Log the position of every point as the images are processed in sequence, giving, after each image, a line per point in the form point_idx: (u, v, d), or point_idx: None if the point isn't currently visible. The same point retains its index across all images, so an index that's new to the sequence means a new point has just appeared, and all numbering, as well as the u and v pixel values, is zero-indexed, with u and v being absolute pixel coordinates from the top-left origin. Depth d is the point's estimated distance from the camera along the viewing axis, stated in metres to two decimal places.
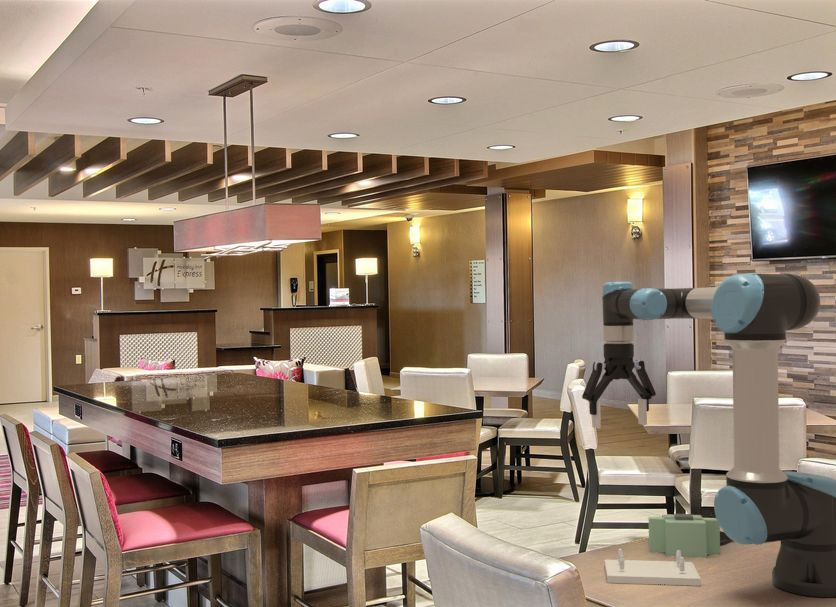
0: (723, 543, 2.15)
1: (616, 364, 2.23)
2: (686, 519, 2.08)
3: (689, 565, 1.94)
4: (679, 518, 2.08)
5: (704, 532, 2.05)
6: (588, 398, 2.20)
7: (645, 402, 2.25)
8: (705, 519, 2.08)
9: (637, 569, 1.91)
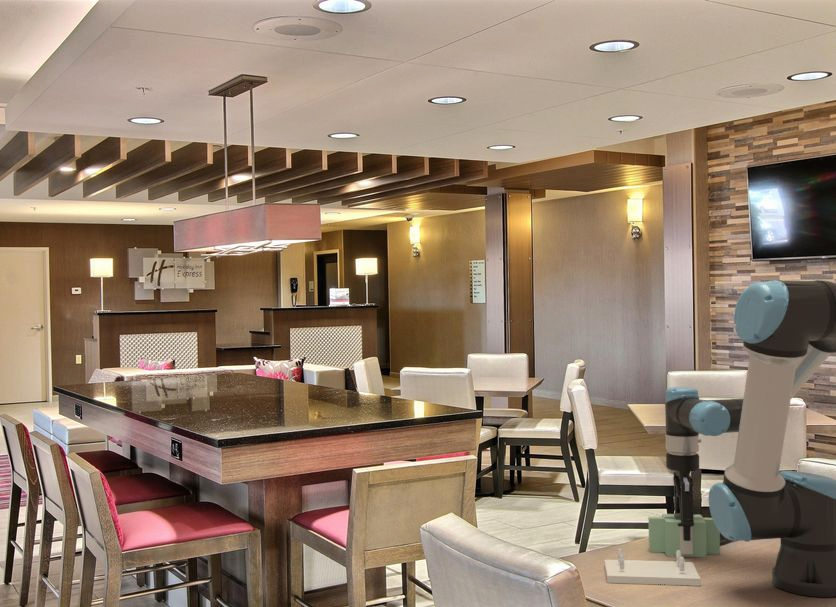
0: (723, 543, 2.15)
1: (677, 472, 2.11)
2: None
3: (689, 565, 1.94)
4: (679, 518, 2.08)
5: (704, 532, 2.05)
6: None
7: (680, 528, 2.05)
8: (705, 519, 2.08)
9: (637, 569, 1.91)
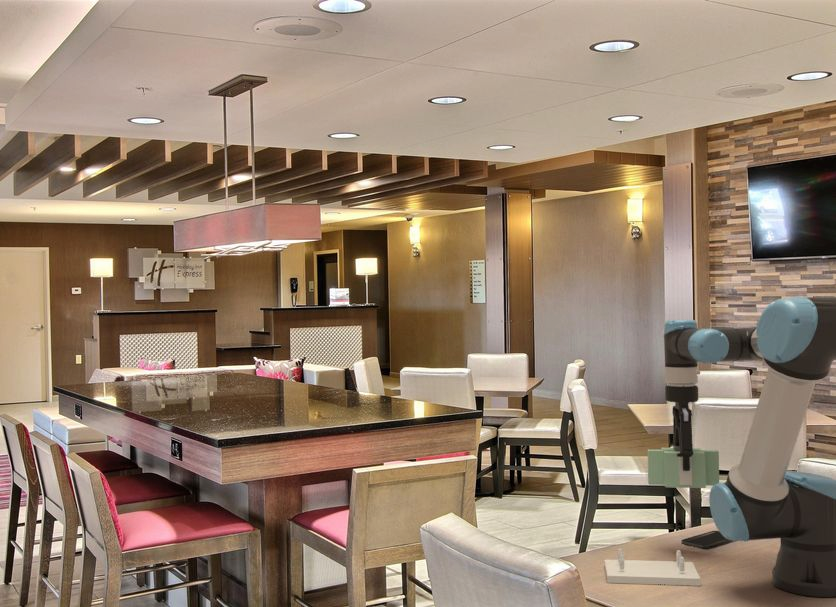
0: (723, 543, 2.15)
1: (676, 405, 2.11)
2: None
3: (689, 565, 1.94)
4: (678, 449, 2.08)
5: (703, 462, 2.05)
6: None
7: (679, 459, 2.05)
8: (704, 450, 2.08)
9: (637, 569, 1.91)
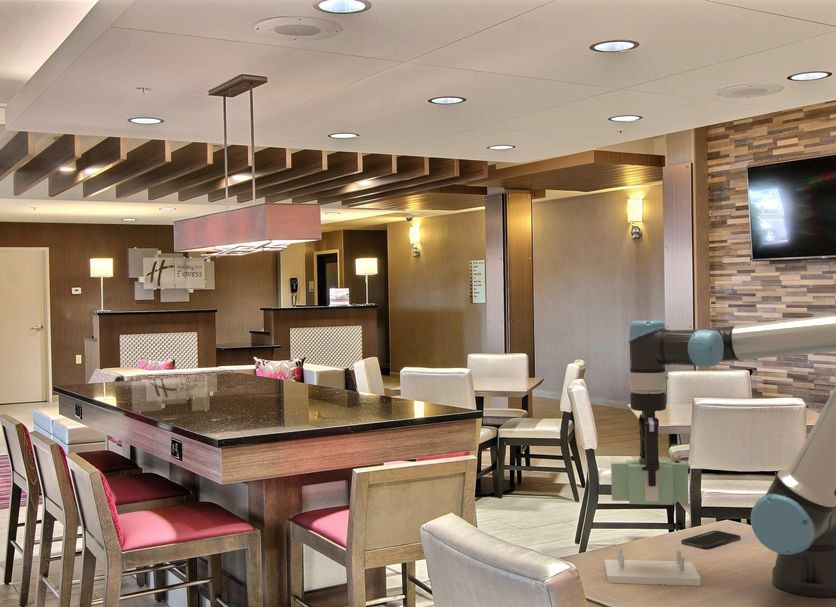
0: (723, 543, 2.15)
1: (642, 413, 1.94)
2: None
3: (689, 565, 1.94)
4: (644, 462, 1.91)
5: (670, 476, 1.87)
6: None
7: None
8: (672, 463, 1.91)
9: (637, 569, 1.91)
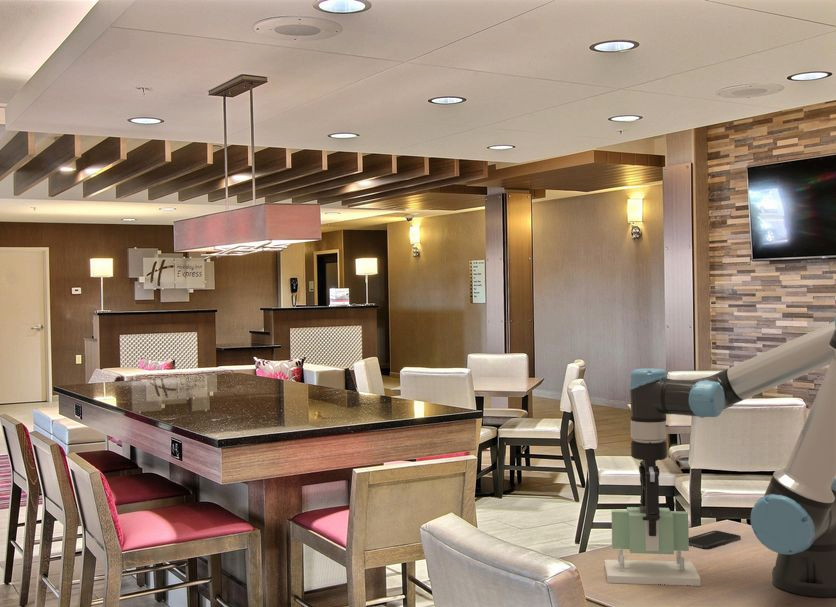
0: (723, 543, 2.15)
1: (643, 461, 1.94)
2: None
3: (689, 565, 1.94)
4: (644, 511, 1.91)
5: (671, 526, 1.87)
6: None
7: (645, 523, 1.88)
8: (673, 512, 1.91)
9: (637, 569, 1.91)
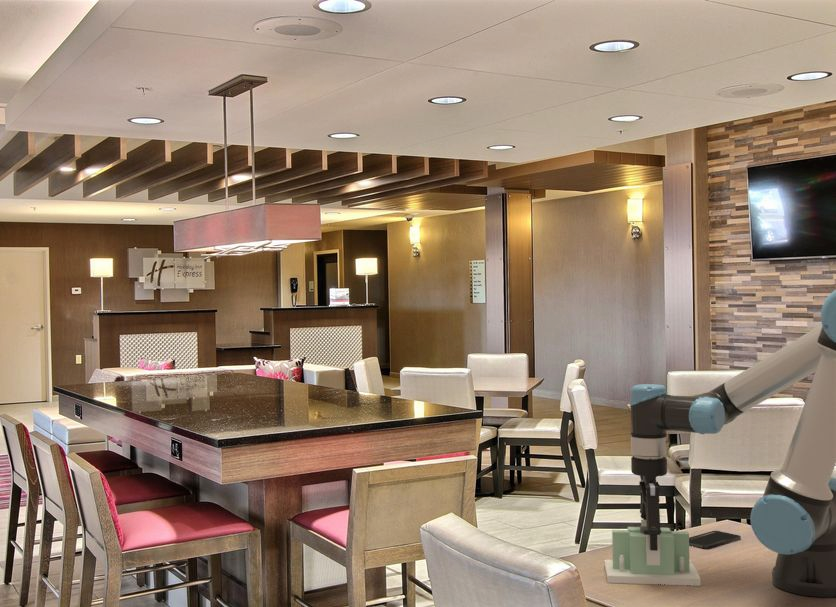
0: (723, 543, 2.15)
1: (643, 478, 1.93)
2: None
3: None
4: None
5: (672, 547, 1.87)
6: None
7: (646, 537, 1.86)
8: (673, 532, 1.91)
9: None
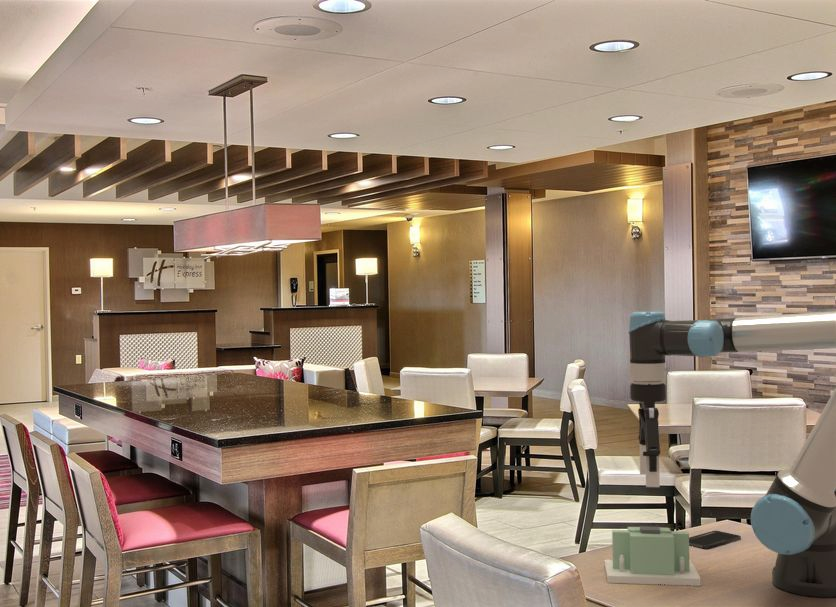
0: (723, 543, 2.15)
1: (642, 406, 1.93)
2: (652, 532, 1.90)
3: None
4: (645, 531, 1.90)
5: (672, 547, 1.87)
6: None
7: (645, 459, 1.85)
8: (673, 532, 1.91)
9: None
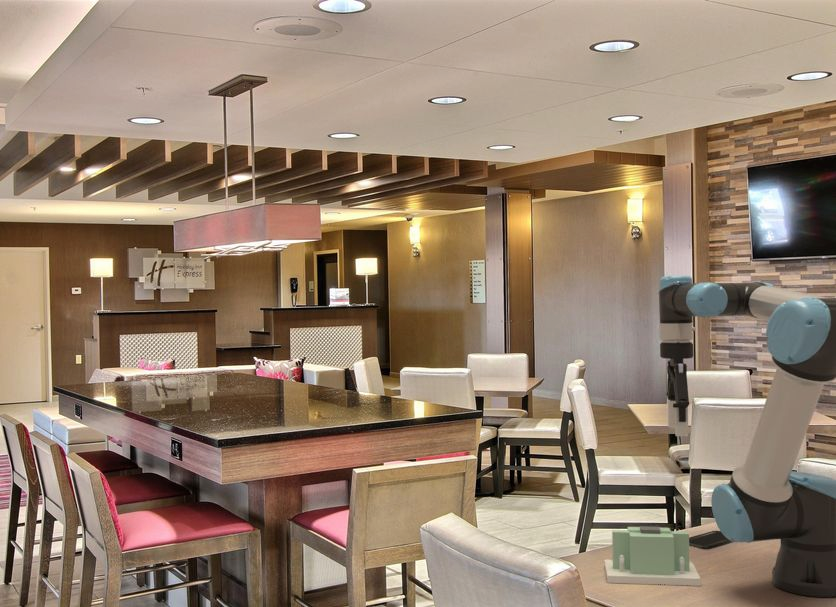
0: (723, 543, 2.15)
1: (671, 364, 2.09)
2: (652, 532, 1.90)
3: None
4: (645, 531, 1.90)
5: (672, 547, 1.87)
6: None
7: (675, 410, 2.01)
8: (673, 532, 1.91)
9: None
